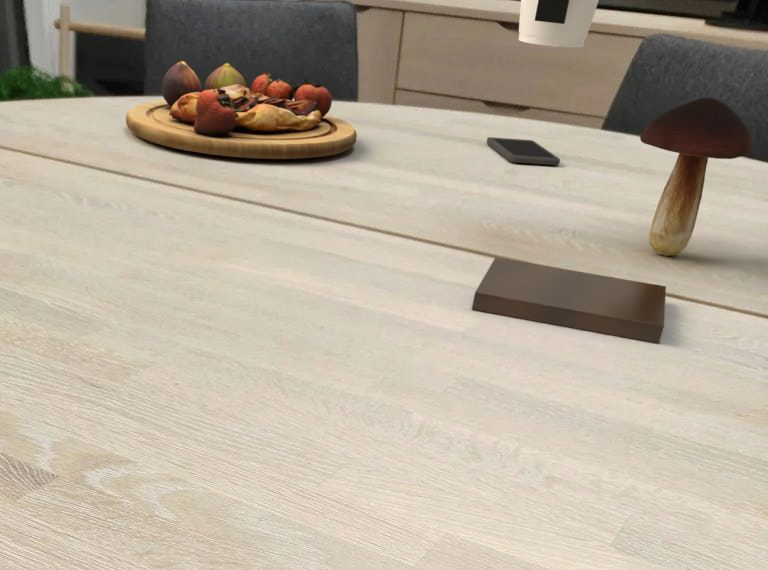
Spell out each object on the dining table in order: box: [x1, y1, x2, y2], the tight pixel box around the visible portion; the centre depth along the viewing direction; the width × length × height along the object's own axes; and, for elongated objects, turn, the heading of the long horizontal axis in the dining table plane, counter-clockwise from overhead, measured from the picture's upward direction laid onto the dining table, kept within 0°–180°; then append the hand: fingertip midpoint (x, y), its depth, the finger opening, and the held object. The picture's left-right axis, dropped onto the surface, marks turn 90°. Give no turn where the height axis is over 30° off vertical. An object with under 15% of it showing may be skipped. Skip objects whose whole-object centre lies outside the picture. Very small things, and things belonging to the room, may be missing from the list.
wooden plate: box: [125, 60, 358, 160], centre depth 136 cm, size 32×32×8 cm
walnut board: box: [471, 257, 667, 344], centre depth 89 cm, size 16×12×2 cm
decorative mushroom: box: [639, 97, 754, 257], centre depth 102 cm, size 11×11×15 cm
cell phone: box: [486, 136, 561, 166], centre depth 145 cm, size 7×14×1 cm, turn 6°
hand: (555, 18), depth 96 cm, fingers closed on foam cup, 9 cm apart
